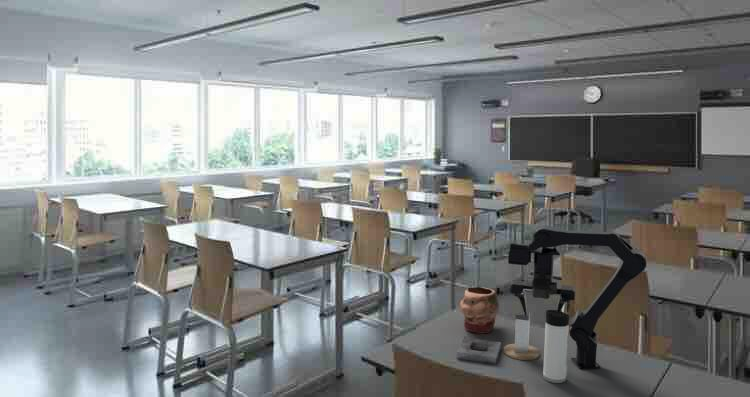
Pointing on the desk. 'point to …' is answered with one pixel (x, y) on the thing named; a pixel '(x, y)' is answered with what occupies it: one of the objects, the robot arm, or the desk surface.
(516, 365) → the desk surface
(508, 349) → the walnut coaster
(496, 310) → the decorative planter
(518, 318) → the grey square bar
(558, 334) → the travel mug
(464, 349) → the grey flat square frame
